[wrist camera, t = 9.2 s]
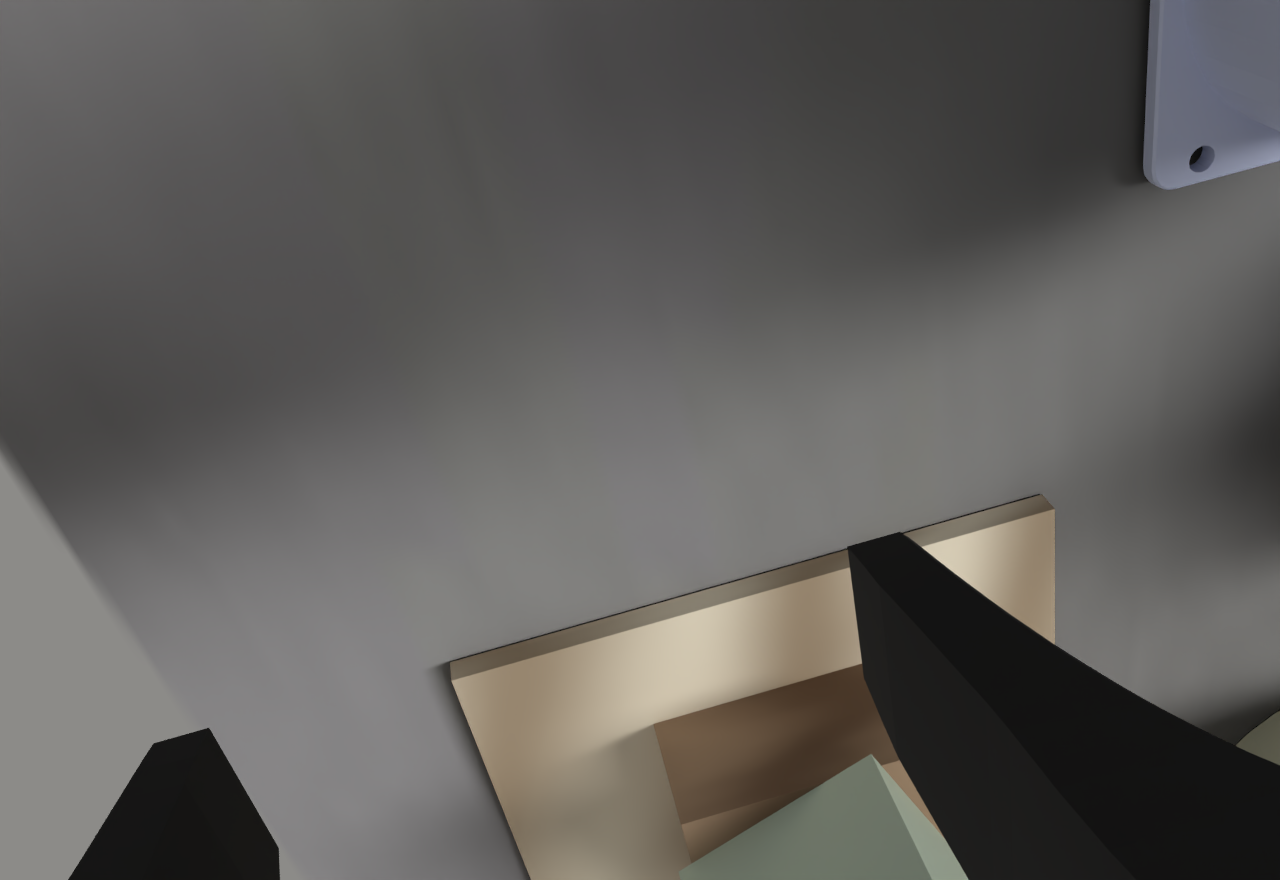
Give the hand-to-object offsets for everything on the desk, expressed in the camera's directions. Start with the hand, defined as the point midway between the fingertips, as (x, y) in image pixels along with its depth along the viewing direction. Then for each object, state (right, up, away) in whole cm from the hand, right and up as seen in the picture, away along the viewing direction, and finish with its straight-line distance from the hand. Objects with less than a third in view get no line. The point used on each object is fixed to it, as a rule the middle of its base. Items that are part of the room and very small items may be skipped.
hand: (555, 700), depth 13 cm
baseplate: (+5, -5, +17) cm, 18 cm away
